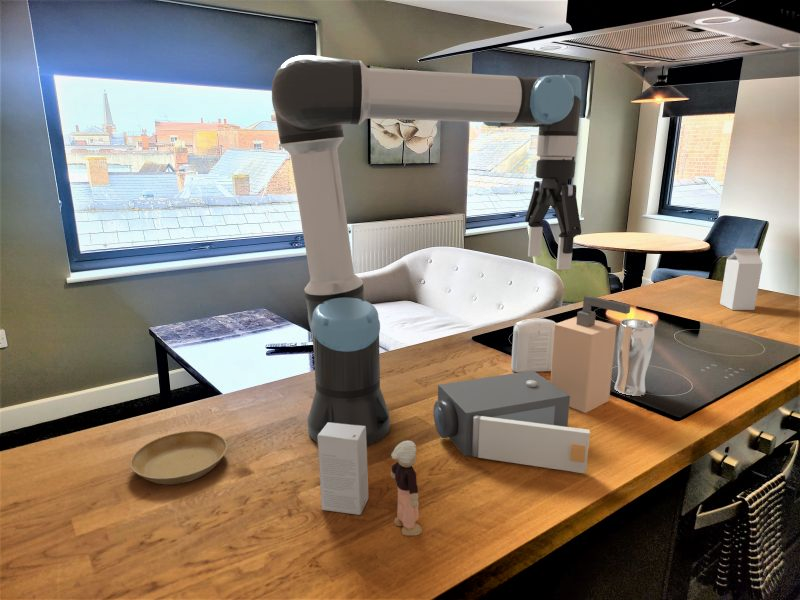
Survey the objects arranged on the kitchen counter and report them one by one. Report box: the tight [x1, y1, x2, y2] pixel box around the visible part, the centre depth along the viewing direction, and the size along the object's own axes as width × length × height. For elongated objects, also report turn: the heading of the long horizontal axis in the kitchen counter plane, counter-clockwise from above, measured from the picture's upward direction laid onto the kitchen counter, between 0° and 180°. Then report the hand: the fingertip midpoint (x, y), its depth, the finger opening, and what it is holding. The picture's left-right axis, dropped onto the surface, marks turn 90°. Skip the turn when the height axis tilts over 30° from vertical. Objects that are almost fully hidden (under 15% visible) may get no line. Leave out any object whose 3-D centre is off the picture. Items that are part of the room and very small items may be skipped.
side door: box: [471, 416, 591, 474], centre depth 89 cm, size 18×2×7 cm, turn 74°
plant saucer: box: [129, 430, 228, 486], centre depth 91 cm, size 15×15×3 cm
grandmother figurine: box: [390, 440, 423, 537], centre depth 75 cm, size 8×4×13 cm, turn 35°
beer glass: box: [614, 318, 656, 397], centre depth 116 cm, size 7×7×15 cm
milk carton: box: [719, 248, 763, 311], centre depth 175 cm, size 7×7×19 cm
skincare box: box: [317, 422, 369, 516], centre depth 79 cm, size 6×4×12 cm
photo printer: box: [510, 317, 557, 373], centre depth 127 cm, size 10×4×12 cm, turn 98°
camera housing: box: [433, 371, 570, 457], centre depth 100 cm, size 22×12×9 cm, turn 109°
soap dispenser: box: [550, 295, 631, 414], centre depth 109 cm, size 13×9×22 cm
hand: (548, 262), depth 117 cm, fingers open, 13 cm apart
